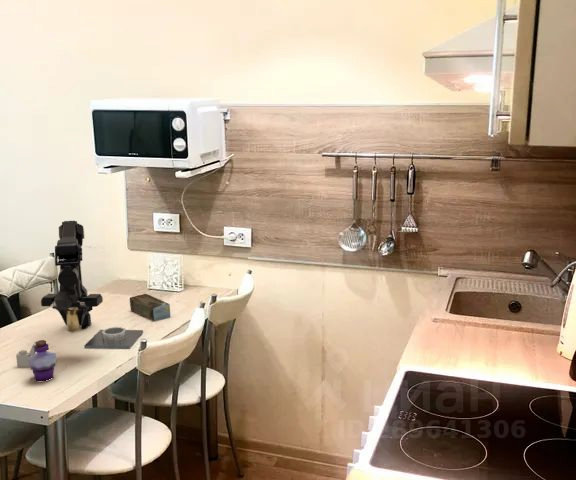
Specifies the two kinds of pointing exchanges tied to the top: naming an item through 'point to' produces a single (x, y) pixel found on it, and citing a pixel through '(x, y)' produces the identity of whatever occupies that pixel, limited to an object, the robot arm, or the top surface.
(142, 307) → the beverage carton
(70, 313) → the tan cylinder
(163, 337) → the top surface
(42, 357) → the potion bottle
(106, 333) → the ring block
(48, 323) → the top surface
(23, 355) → the grey notched block
